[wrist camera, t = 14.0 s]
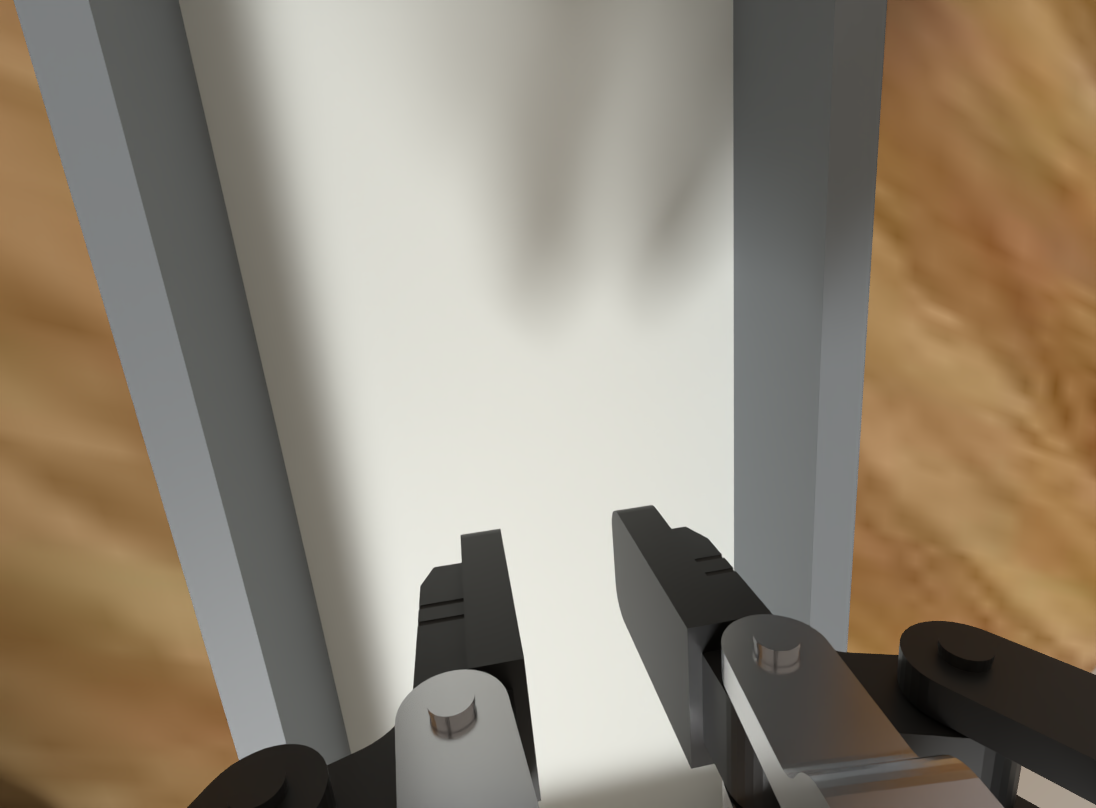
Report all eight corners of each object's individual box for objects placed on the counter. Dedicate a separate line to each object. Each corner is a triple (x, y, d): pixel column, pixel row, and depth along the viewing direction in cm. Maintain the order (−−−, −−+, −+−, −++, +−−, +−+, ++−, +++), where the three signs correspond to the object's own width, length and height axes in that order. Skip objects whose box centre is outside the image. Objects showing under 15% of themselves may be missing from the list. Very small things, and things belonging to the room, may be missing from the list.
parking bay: (85, -242, 12) (-150, -549, 7) (755, -239, 14) (917, -484, 9) (362, 897, 21) (338, 1093, 16) (747, 809, 23) (827, 963, 18)
